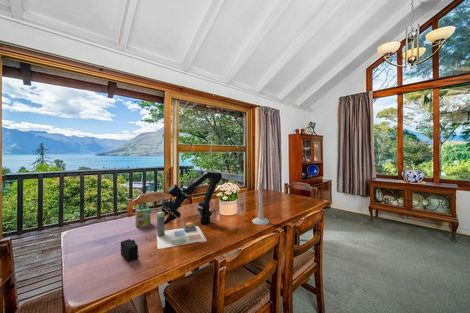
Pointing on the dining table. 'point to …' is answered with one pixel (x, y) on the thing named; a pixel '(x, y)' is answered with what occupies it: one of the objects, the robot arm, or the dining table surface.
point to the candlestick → (260, 211)
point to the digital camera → (129, 250)
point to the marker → (160, 224)
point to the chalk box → (143, 216)
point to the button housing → (189, 228)
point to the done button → (189, 225)
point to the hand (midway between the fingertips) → (161, 221)
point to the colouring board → (179, 238)
